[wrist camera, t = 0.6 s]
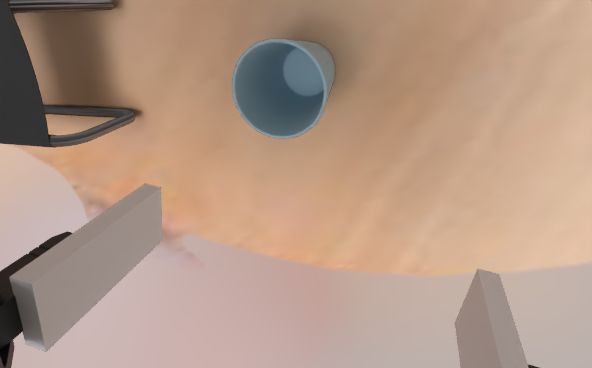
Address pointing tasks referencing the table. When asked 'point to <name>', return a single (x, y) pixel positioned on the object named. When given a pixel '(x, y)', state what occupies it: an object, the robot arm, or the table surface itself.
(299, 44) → the cup
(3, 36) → the chair
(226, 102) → the table surface
